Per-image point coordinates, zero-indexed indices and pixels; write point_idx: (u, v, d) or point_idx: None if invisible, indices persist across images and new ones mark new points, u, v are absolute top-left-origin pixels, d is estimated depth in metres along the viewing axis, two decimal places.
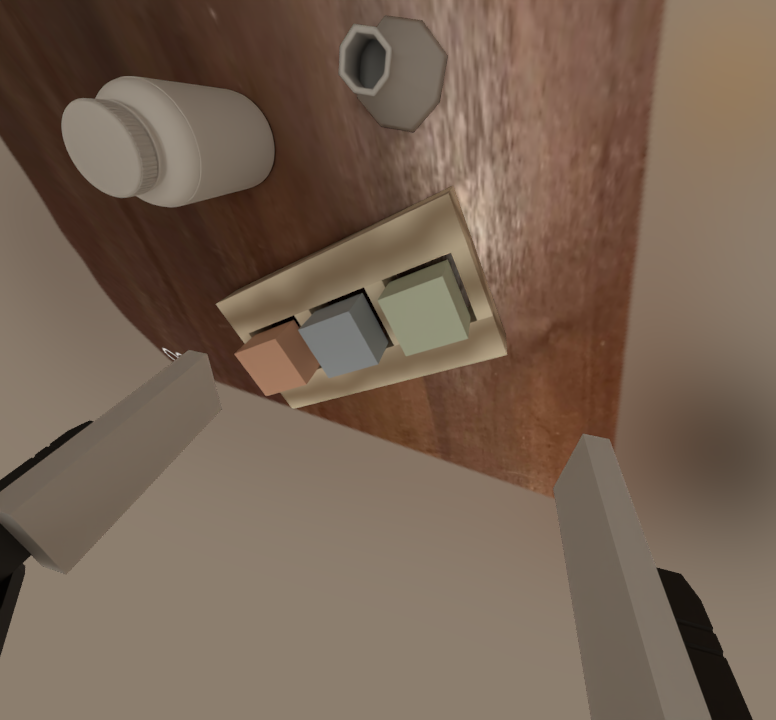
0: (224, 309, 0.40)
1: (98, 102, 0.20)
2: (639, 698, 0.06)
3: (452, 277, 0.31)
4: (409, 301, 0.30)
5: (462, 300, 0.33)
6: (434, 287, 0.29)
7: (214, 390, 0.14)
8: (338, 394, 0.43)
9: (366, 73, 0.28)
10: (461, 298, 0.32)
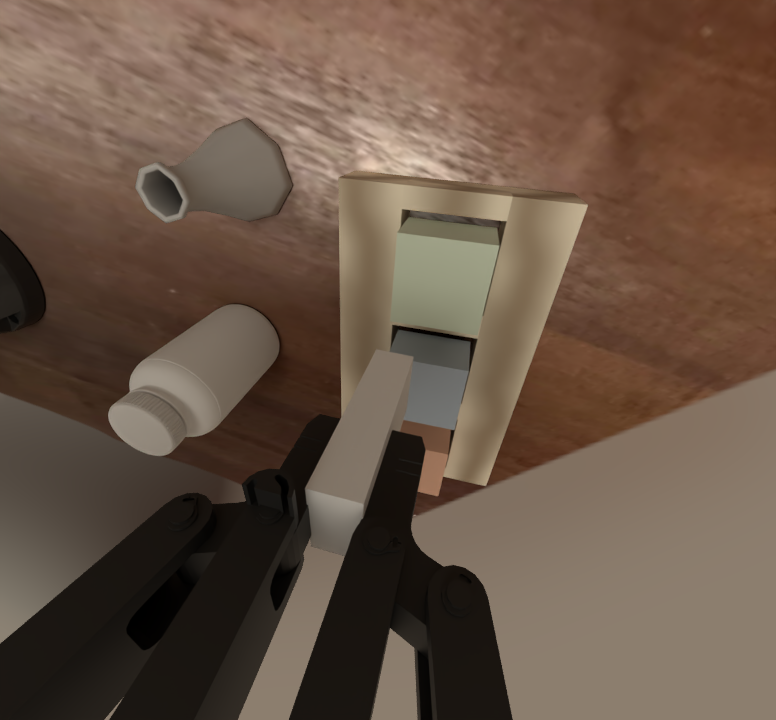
0: None
1: (112, 405, 0.26)
2: None
3: (427, 222, 0.24)
4: (409, 288, 0.23)
5: (464, 226, 0.23)
6: (406, 250, 0.22)
7: None
8: (500, 434, 0.33)
9: None
10: (461, 226, 0.24)
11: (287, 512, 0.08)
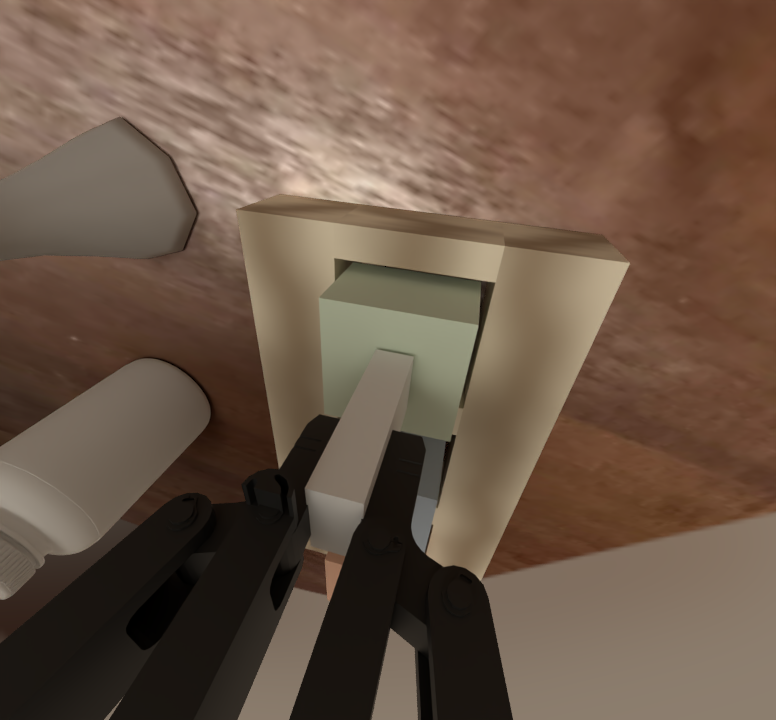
0: None
1: None
2: None
3: (376, 273, 0.16)
4: (346, 374, 0.15)
5: (432, 279, 0.16)
6: (335, 323, 0.14)
7: None
8: (490, 545, 0.25)
9: None
10: (427, 279, 0.16)
11: (287, 512, 0.08)
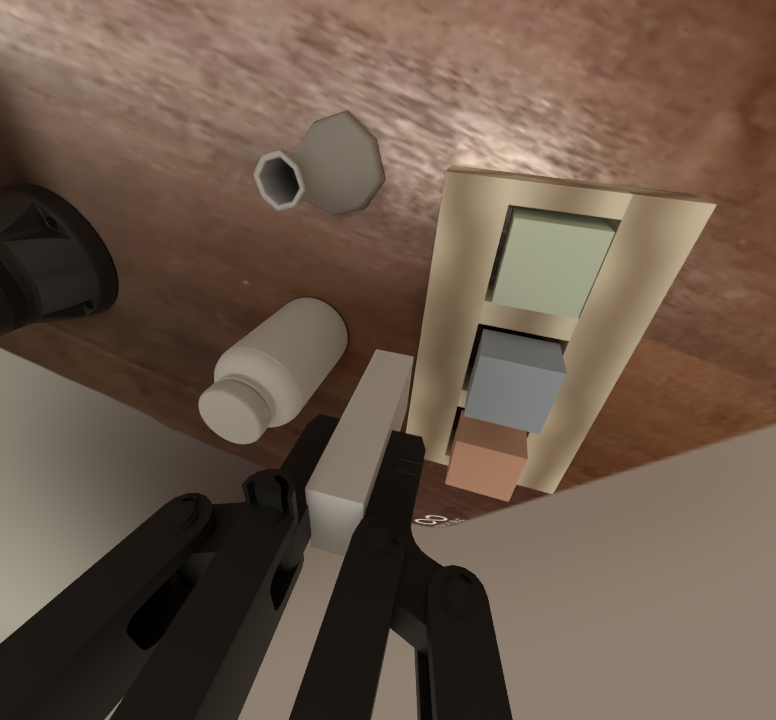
0: None
1: (204, 392, 0.26)
2: None
3: (534, 211, 0.25)
4: (517, 271, 0.24)
5: (570, 215, 0.25)
6: (520, 235, 0.23)
7: None
8: (577, 441, 0.32)
9: None
10: (567, 215, 0.25)
11: (287, 512, 0.08)
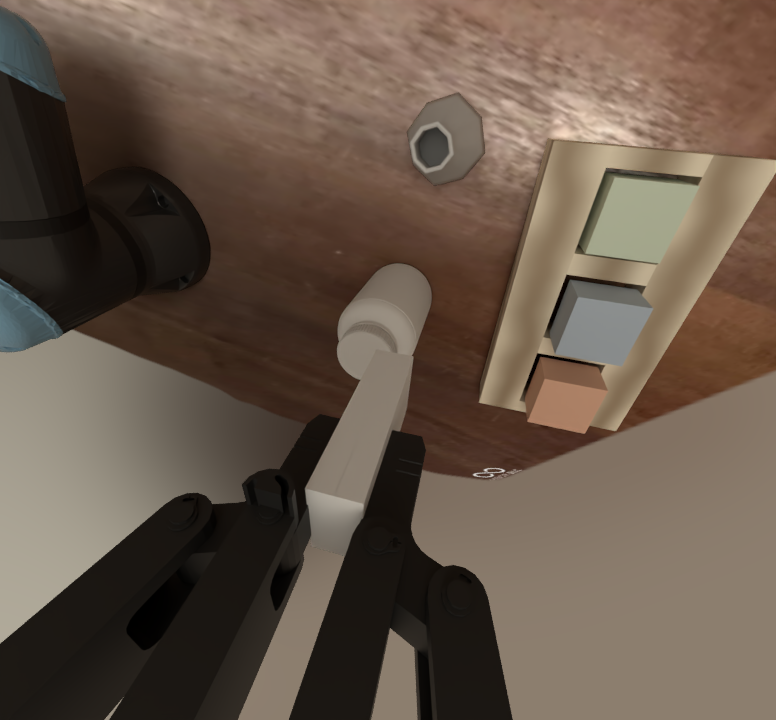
0: (487, 400, 0.44)
1: (346, 334, 0.31)
2: None
3: (622, 174, 0.30)
4: (611, 223, 0.29)
5: (652, 177, 0.30)
6: (618, 191, 0.28)
7: None
8: (644, 378, 0.37)
9: None
10: (649, 176, 0.30)
11: (287, 512, 0.08)
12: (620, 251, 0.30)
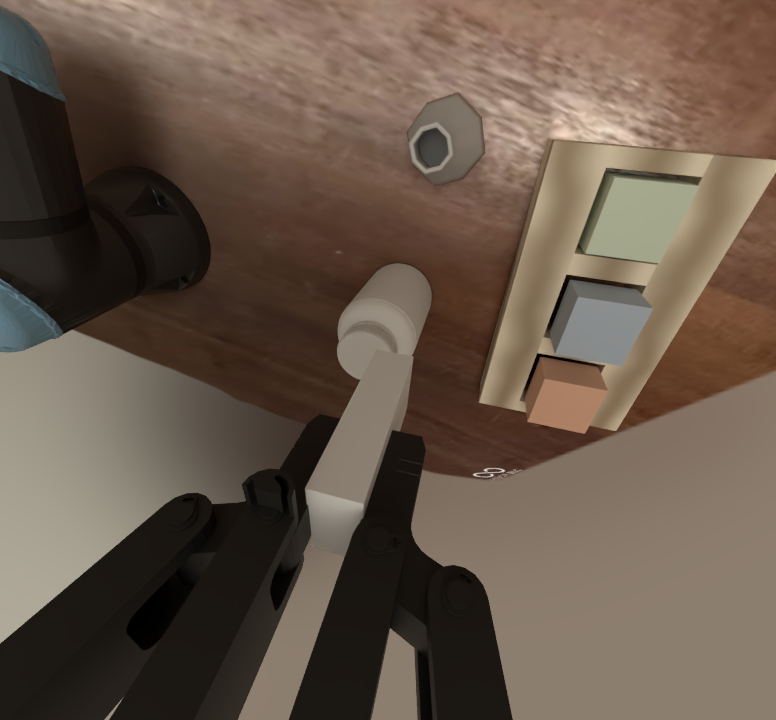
0: (487, 400, 0.44)
1: (346, 334, 0.31)
2: None
3: (622, 174, 0.30)
4: (611, 223, 0.29)
5: (652, 177, 0.30)
6: (618, 191, 0.28)
7: None
8: (644, 378, 0.38)
9: None
10: (649, 176, 0.30)
11: (287, 512, 0.08)
12: (620, 251, 0.30)
